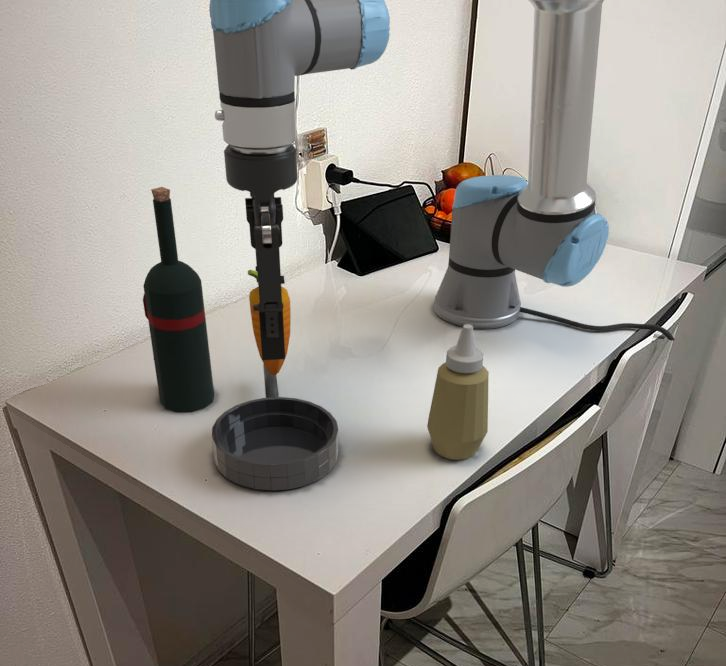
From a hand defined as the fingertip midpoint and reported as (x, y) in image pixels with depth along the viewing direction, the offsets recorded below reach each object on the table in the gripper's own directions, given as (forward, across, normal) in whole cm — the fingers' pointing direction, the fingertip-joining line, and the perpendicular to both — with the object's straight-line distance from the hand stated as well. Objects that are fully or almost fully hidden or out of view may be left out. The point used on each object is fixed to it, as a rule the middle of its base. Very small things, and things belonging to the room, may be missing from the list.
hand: (272, 347), depth 97 cm
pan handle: (+13, -13, 0) cm, 19 cm away
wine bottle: (+16, -17, -13) cm, 27 cm away
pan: (+16, 0, 0) cm, 16 cm away
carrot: (+4, 0, 0) cm, 4 cm away
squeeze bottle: (+16, +1, +24) cm, 29 cm away
